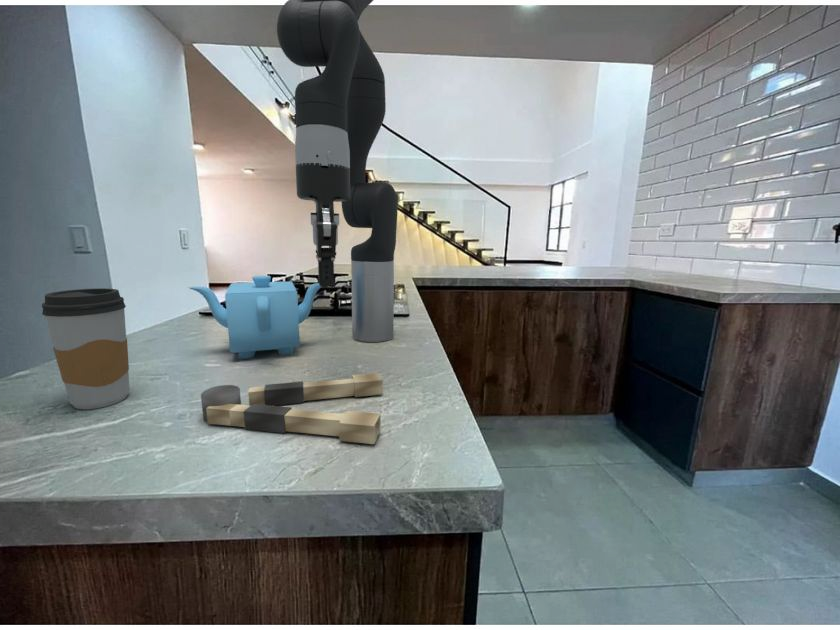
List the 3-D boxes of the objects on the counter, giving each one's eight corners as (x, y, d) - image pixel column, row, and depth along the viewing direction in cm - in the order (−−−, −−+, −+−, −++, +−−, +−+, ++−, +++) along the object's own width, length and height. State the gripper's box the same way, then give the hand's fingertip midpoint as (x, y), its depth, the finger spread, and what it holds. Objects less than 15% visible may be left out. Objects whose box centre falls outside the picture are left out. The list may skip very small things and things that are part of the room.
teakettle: (267, 370, 65) (261, 284, 62) (190, 354, 72) (182, 277, 69) (333, 342, 82) (331, 274, 79) (266, 332, 89) (262, 268, 86)
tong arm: (248, 408, 51) (247, 392, 50) (251, 399, 54) (250, 383, 53) (382, 395, 56) (382, 380, 55) (378, 387, 59) (378, 372, 58)
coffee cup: (128, 383, 59) (114, 286, 55) (147, 398, 53) (131, 292, 50) (54, 400, 52) (33, 292, 49) (67, 420, 47) (44, 300, 44)
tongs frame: (186, 427, 46) (183, 402, 45) (218, 406, 52) (216, 383, 51) (373, 446, 43) (373, 420, 42) (386, 421, 49) (386, 397, 48)
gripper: (296, 170, 60) (301, 281, 63) (294, 154, 47) (300, 293, 51) (345, 173, 62) (346, 280, 65) (355, 159, 49) (356, 292, 53)
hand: (326, 285), depth 58 cm, fingers closed
